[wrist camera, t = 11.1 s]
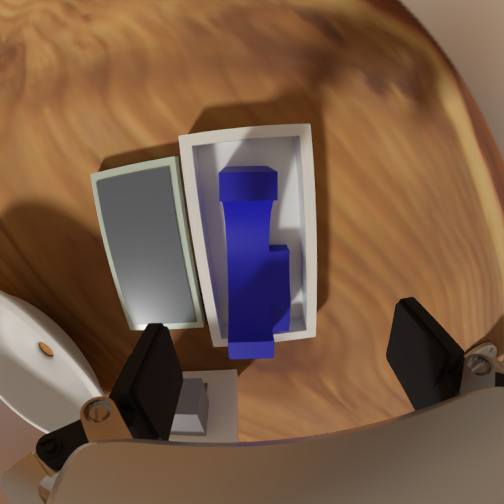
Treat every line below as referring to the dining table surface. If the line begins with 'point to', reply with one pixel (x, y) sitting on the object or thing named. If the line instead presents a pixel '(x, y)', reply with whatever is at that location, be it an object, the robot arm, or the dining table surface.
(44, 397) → the soup bowl
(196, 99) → the dining table surface
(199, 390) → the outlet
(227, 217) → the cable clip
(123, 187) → the phone
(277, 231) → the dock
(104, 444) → the robot arm
